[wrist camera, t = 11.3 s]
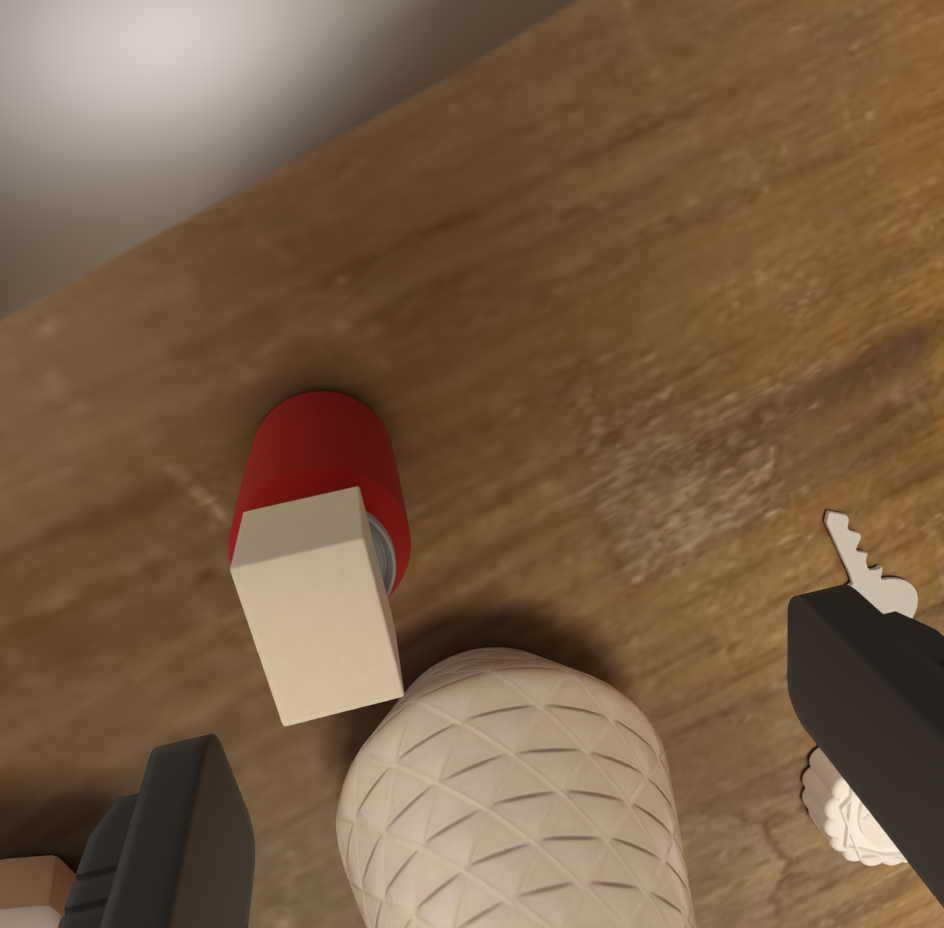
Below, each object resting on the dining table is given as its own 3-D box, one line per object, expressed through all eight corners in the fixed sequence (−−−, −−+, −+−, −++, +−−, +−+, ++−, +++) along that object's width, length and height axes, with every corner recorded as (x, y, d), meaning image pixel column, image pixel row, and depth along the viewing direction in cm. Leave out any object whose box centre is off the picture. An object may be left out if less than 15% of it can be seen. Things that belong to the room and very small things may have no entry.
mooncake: (841, 858, 57) (873, 901, 54) (770, 764, 52) (799, 806, 49) (984, 764, 56) (1025, 803, 52) (924, 660, 51) (965, 695, 48)
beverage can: (298, 535, 40) (287, 680, 29) (224, 426, 38) (182, 542, 27) (415, 474, 40) (448, 597, 29) (349, 360, 37) (358, 449, 27)
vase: (679, 666, 48) (957, 1078, 27) (521, 866, 52) (654, 1360, 31) (436, 547, 42) (546, 953, 21) (280, 782, 46) (239, 1321, 25)
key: (926, 617, 49) (856, 659, 49) (923, 614, 49) (853, 656, 50) (873, 485, 45) (796, 532, 45) (870, 483, 45) (794, 529, 45)
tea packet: (242, 511, 27) (228, 569, 23) (359, 485, 27) (364, 537, 23) (288, 654, 29) (283, 728, 25) (395, 628, 29) (405, 697, 26)
